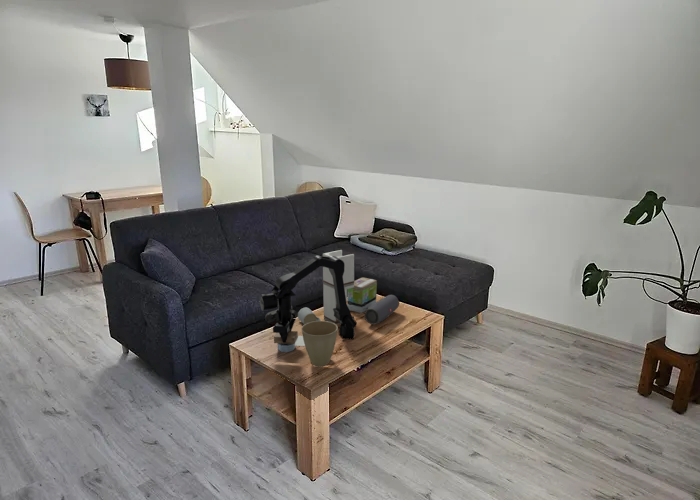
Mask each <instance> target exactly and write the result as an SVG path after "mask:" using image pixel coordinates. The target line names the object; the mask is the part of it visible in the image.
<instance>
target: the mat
mask: <svg viewBox="0 0 700 500" xmlns="http://www.w3.org/2000/svg"><path fill="white" fill-rule="evenodd" d="M297 346H298V347H305V344H304V340H303V335H298V338H297V340H296V342H295V347H297Z"/></svg>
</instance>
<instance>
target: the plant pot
mask: <svg viewBox="0 0 700 500" xmlns="http://www.w3.org/2000/svg"><path fill="white" fill-rule="evenodd" d="M338 328H339V327H338V324H334V323H332V322H328V321H326V320H321V321H313V322H309V323H307V324H305V325H304V324H303V325H302V327H301V333H302V336H303V340H304V344H305V346H304V348H305V351H306V353H307V355H308V358H309V361H310V362H311V365H312V366H314V367H318V368H321V367H326V366H328V364H329V363H330V362H331V359H332V356H333V353H334V349H335V345H336V343H337V336H338V331H339V329H338Z"/></svg>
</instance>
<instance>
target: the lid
mask: <svg viewBox="0 0 700 500" xmlns="http://www.w3.org/2000/svg"><path fill="white" fill-rule="evenodd" d="M298 334H299V333H298V331H296V330H295V331H294V330H291V331H289V334H288V337H287V340H286V342H285V343H283V341H282V339H281V336H280V334H279V333H275V334H274V335H273V343H274V344H277V343H282V344H295V342H296V340H297V338H298V336H299V335H298Z"/></svg>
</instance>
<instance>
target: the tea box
mask: <svg viewBox="0 0 700 500" xmlns="http://www.w3.org/2000/svg"><path fill="white" fill-rule="evenodd" d="M377 281H378V280H376V279H373V278H367V277H362V276H361V277H360V278H358V279H356V280H354V287H353V288H350V289H347V302H346V303H347V306H348V308H349V310H350V312H351V311H352V312H355V313H359V314H363V313H365V312H366V310H367V309H368V308H369V307H371V306H372V305H373V304H375V303H376V302H377V290H378V289H377V286H378V282H377Z"/></svg>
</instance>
